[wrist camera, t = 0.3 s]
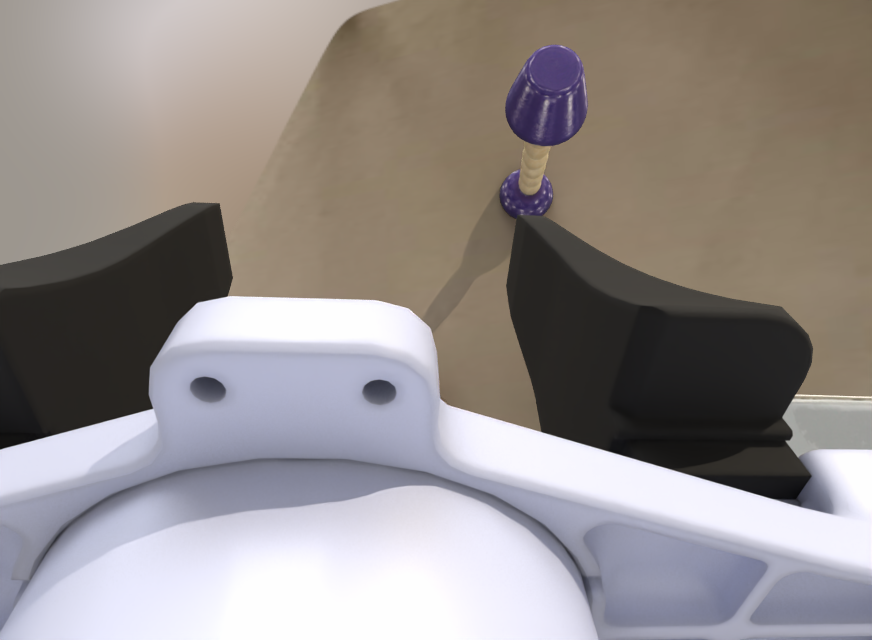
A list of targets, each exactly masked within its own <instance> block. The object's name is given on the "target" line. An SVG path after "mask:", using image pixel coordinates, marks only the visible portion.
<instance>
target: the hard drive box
mask: <svg viewBox="0 0 872 640" xmlns="http://www.w3.org/2000/svg"><path fill="white" fill-rule="evenodd" d="M782 418H783V419H784V420H785V421H786V423H787V424H788V425H789V427H790V428H791V429H792V431H793V436H792V438H791V440H790V441H786V442H787V444H788V445H789V446H790V447H791V449H792V450H793V451H794V453H795V454H796V455H797V457H799V456H800V455H802V454H804V453H806V452H808V451H811V450H818V449H857V450H872V397H856V396H823V395H795V397H794V398H793V400H792V402H791V403H790V405H789V407H788V408H787V410H786V412H785V414H784V415H783V417H782Z"/></svg>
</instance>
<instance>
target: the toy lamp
mask: <svg viewBox="0 0 872 640" xmlns="http://www.w3.org/2000/svg"><path fill="white" fill-rule="evenodd" d="M587 107H588V101H587V91H586V82H585V74H584V68H583V64H582V62H581V60H580V58H579V57H578V55H577V54H576V53H575V52H574V51H572V50H571V49H569V48H567V47H564V46H561V45H549V46H544V47H542V48H540V49H538V50H537V51H535V52H534V53H533V54H532V55H531V56H530V58H529V59H528V60H527V61H526V63H525V65H524V66H523V68H522V70H521V71H520V73H519V75H518V76H517V78H516V80H515V82H514V83H513V85H512V87H511V89H510V91H509V93H508V96H507V100H506V107H505V112H506V118H507V121H508V124H509V126H510V128H511V129H512V130H513V132H514V133H515V134H516V135H517V136H518V137H519V138H521V139H522V140H524V141H525V143H524V149H523V154H522V157H523V158H522V161H521V169H520V170H517V171H515V172H513V173H512V174H510V175H509V176H508V177H507V178H506V179H505V181H504V182H503V184H502V186H501V190H500V201H501V204H502V206H503V208H504V210H505V211H506V212H507V213H508V214H509V215H510V216H512V217H514V218H516V219H517V215H536V216H542V215H543V214H544V213H545V212H546V211H547V210H548V209H549V207H550V205H551V203H552V199H553V190H552V186H551V183H550V181H549V180H548V178H547V177H546V176H545V175H544V174H543V172H544V171H545V168H546V162H547V159H548V152H549V150H550V148H551V146H554V145H558V144H560V143H562V142H565V141H567V140H569V139H570V138H571V137H573V136H574V135H575V134H576V133H577V132H578V131H579V129H580V128H581V126H582V124H583V123H584V120H585V118H586V114H587Z"/></svg>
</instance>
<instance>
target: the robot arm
mask: <svg viewBox="0 0 872 640" xmlns="http://www.w3.org/2000/svg"><path fill="white" fill-rule="evenodd" d="M232 279H233V276H232V271H231V265H230V259H229V254H228V248H227V243H226V237H225V231H224V226H223V220H222V215H221V209H220V204H219V203H194V202H193V203H189V204H185V205H181V206H179V207H176V208H173V209H171V210H168V211H166V212H163V213H161V214H159V215H157V216H154V217H152V218H149V219H147V220H145V221H142V222H140V223H138V224H135V225H133V226H131V227H128V228H126V229H123V230H120V231H118V232H115V233H112V234H110V235H107V236H105V237H102V238H100V239H97V240H94V241H91V242H89V243H86V244H82V245H79V246H76V247H73V248H70V249H66V250H63V251H59V252H56V253H52V254H48V255H44V256H41V257H36V258H31V259H27V260H22V261H17V262H12V263H8V264H3V265H0V640H872V450H857V449H818V450H811V451H808V452H806V453H804V454H802V455H800V456H799V457H797V455H796V454H795V453H794V451H793V450H792V449H791V447H790V446H789V445H788V444H787V442H786V441H790V440H791V438H792V436H793V431H792V429H791V428H790V427H789V425H788V424H787V423H786V421H785V420H784V419H783V418H782V417H783V415H784V414H785V412H786V410H787V408H788V407H789V405H790V403H791V402H792V400H793V398H794V397H795V395H796V393H797V391H798V390H799V388H800V386H801V385H802V383H803V381H804V379H805V378H806V375H807V373H808V370H809V368H810V366H811V363H812V353H813V347H812V344H811V341H810V338H809V335H808V334H807V333H806V332H805V331H804V330H803V328H802V327H801V326H800V325H799V324H798V323H797V322H796V321H795V320H794V319H793V318H792V317H791V316H790V315H789V314H788V313H787V312H786V311H785V310H784V309H783V308H782V307H780V306H774V305H767V304H761V303H755V302H748V301H742V300H736V299H730V298H726V297H721V296H717V295H713V294H708V293H704V292H700V291H696V290H693V289H689V288H685V287H682V286H679V285H676V284H673V283H670V282H667V281H664V280H661V279H658V278H656V277H653V276H650V275H648V274H645V273H643V272H641V271H638V270H636V269H634V268H632V267H629V266H627V265H625V264H623V263H621V262H619V261H617V260H615V259H613V258H611V257H610V256H608V255H606V254H604V253H602V252H601V251H599V250H597V249H595V248H594V247H592V246H590V245H589V244H587V243H586V242H584V241H582V240H581V239H579V238H578V237H576V236H575V235H573V234H572V233H570V232H569V231H567V230H566V229H564V228H563V227H561V226H560V225H558V224H556V223H555V222H553V221H552V220H550V219H548V218H546V217H544V216H536V215H517V220H516V226H515V233H514V239H513V246H512V252H511V259H510V265H509V272H508V278H507V285H506V287H507V295H508V302H509V308H510V314H511V319H512V322H513V325H514V328H515V332H516V335H517V338H518V341H519V344H520V347H521V350H522V354H523V357H524V360H525V363H526V366H527V369H528V372H529V375H530V378H531V382H532V386H533V390H534V393H535V398H536V404H537V409H538V415H539V420H540V426H541V432H539V431H535V430H532V429H528V428H525V427H522V426H518V425H515V424H511V423H508V422H504V421H501V420H497V419H494V418H490V417H487V416H484V415H480V414H477V413H473V412H470V411H466V410H463V409H459V408H456V407H452V406H449V405H447V404H446V403H445V402H444V401H442V400H441V399H440V389H439V374H438V359H437V351H436V347H435V343H434V339H433V335H432V332H431V328H430V327H429V326H428V325H427V324H425V323H424V322H423V321H422V320H421V319H420V318H419V317H417V316H416V315H415V314H414V313H413V312H412V311H411V310H410V309H408V308H405V307H401V306H397V305H393V304H389V303H385V302H381V301H377V300H349V299H312V298H275V297H238V296H229V297H227V296H228V293H229V290H230V286H231V282H232Z"/></svg>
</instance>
